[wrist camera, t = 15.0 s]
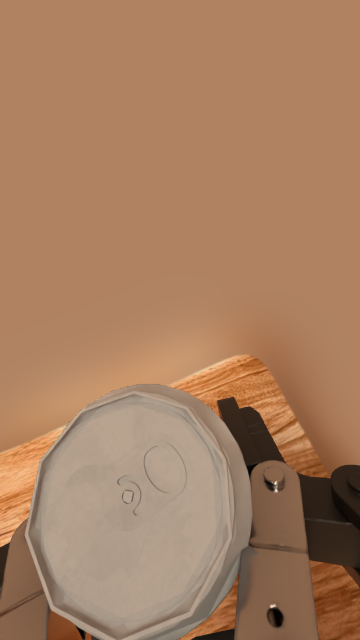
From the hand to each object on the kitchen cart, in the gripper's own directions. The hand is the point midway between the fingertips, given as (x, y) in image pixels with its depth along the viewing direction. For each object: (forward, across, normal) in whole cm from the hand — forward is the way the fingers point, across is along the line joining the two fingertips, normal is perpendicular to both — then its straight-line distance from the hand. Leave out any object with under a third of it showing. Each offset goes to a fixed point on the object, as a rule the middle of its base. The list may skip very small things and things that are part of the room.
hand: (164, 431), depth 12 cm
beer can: (+3, 0, +5) cm, 6 cm away
